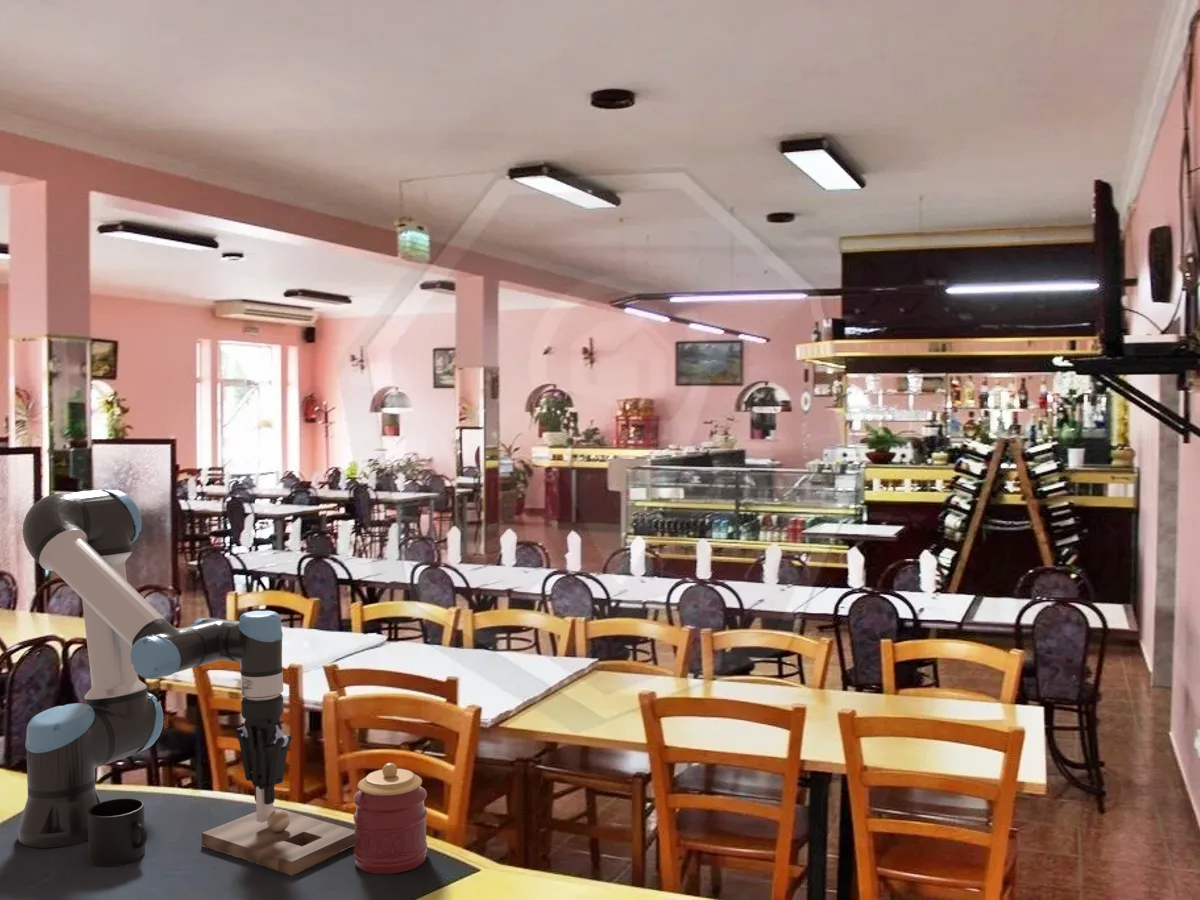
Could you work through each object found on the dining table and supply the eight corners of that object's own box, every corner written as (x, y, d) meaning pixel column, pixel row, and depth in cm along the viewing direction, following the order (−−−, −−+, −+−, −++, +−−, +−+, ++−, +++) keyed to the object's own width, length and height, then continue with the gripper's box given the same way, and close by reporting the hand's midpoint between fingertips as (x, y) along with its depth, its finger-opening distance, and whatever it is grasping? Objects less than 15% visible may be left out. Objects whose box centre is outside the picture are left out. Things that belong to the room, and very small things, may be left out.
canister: (439, 850, 202) (438, 755, 201) (406, 880, 190) (405, 779, 189) (376, 842, 206) (375, 749, 205) (339, 870, 194) (338, 771, 193)
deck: (202, 846, 204) (201, 832, 204) (270, 818, 218) (270, 806, 218) (292, 875, 192) (291, 861, 191) (358, 844, 205) (358, 831, 205)
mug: (124, 873, 193) (123, 822, 192) (76, 861, 198) (75, 812, 197) (167, 853, 201) (166, 804, 201) (119, 842, 206) (118, 795, 206)
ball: (273, 811, 203) (280, 832, 202) (290, 804, 206) (296, 825, 205) (260, 816, 204) (266, 837, 204) (276, 809, 208) (283, 830, 207)
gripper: (222, 695, 206) (225, 819, 207) (270, 704, 199) (273, 833, 200) (254, 686, 213) (257, 806, 214) (302, 695, 206) (304, 820, 207)
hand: (265, 819), depth 207 cm, fingers closed
